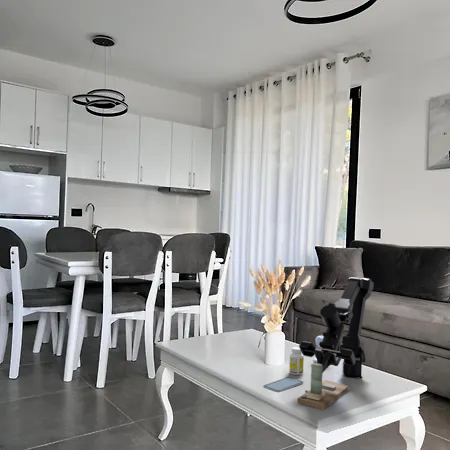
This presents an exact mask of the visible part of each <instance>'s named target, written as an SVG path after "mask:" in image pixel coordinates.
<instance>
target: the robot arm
mask: <svg viewBox="0 0 450 450" xmlns="http://www.w3.org/2000/svg"><path fill="white" fill-rule="evenodd" d="M374 285H375V283H374V282H373V281H372V279H371V278H367V277H357V276H356V277H355V276H351V277H349V278H348V279H347V285H346V286H345V289H344V291H343V293H342V295H341V296H340V298H339V300H337V301H334V303H333V302H329V303H328V304H327V305H325V306H322V308H320V311H319V313H320V316H321V319H322V321H323V323H324V326H325V327H326V329H325V331H323V333H322V335H323V340H322V342H320V343H319V345H320V347H318V346H317V345H316V346H314V344H313V342H311V341H306V340H302V341H300V343H299V345H298V347H299V348H300V350H301V352H302V353H301V354H303V356H304V357H309V358H312V357H315V358H316V359H317V363H319V364H322V365H323V372H322V374H323V373H324V372H325V371H326V370H327V369H328V368H329V367H330V366H333V367H338V366H339V364H340V362H341V361H342V360H343V362H342V370H341V371H342V375H344V377H345V378H350V379H351V378H352V379H363V376H362V371H363V370H362V369H363V368H362V366H363V363H366V360H367V353H366V351H365V349H364V342H363V340H362V338H361V334H362V328H363V322H364V321H363V319H364V315H365V314H364V313H365V307H366V301H367V300H368V299H369V298H370V297H371V295H372V292H373V290H374ZM344 323H346V324H349V326H348V332H347V334H346V335H344V336H343V334H344V333H345V324H344Z"/></svg>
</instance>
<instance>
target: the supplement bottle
mask: <svg viewBox="0 0 450 450" xmlns="http://www.w3.org/2000/svg"><path fill="white" fill-rule="evenodd" d="M304 357H305V356H304V355H303V354H302V352H301V350H300V348H299V346H293V347H291V353H290V354H289V369H288V370H289V373H290V374H291V375H294V376H301V375H304V361H305V359H304Z"/></svg>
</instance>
